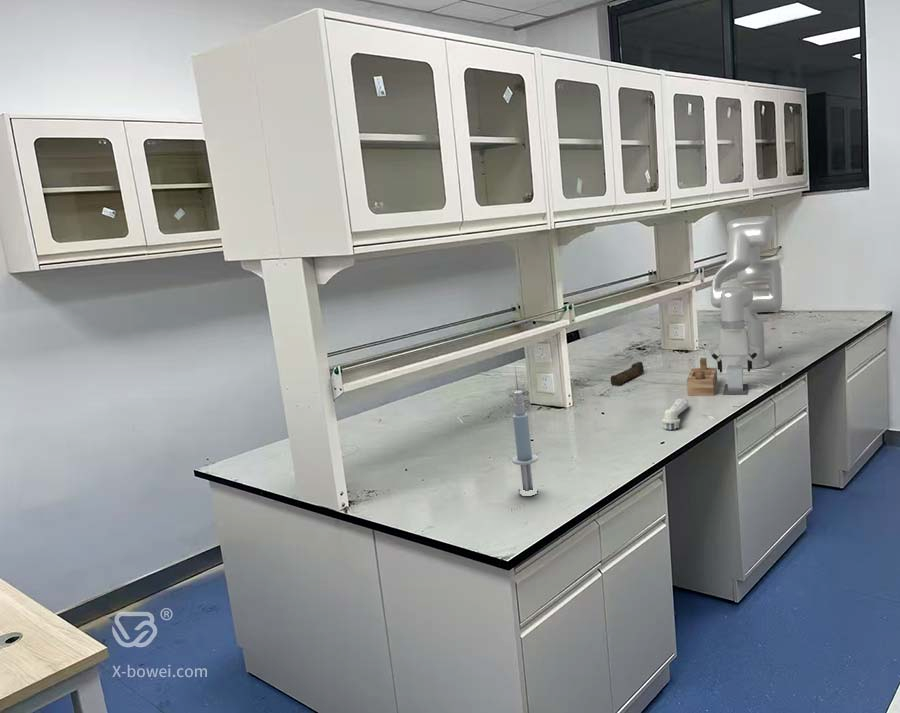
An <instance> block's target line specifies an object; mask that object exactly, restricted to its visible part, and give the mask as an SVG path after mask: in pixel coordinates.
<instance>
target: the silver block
mask: <svg viewBox="0 0 900 713" xmlns="http://www.w3.org/2000/svg"><path fill="white" fill-rule="evenodd" d="M726 377H727V378H726V379H727V380H726V381H727V384H728V391H743V386H744V385H743V384H744V368H743V365H736V364H728V365H727V369H726Z"/></svg>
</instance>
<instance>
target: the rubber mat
mask: <svg viewBox="0 0 900 713" xmlns="http://www.w3.org/2000/svg"><path fill="white" fill-rule="evenodd" d="M743 385H744V386H743V391H728V383H725V384H724V386H723V391H722V396H736V395H737V396H744V395H745V396H747V395H748V389H749V382H747V383H743Z"/></svg>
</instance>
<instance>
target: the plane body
mask: <svg viewBox="0 0 900 713" xmlns="http://www.w3.org/2000/svg"><path fill="white" fill-rule="evenodd" d="M699 366H700V367H692V368H691V369H690V371H689V374H688V375H687V376H688V377H687V378H686V392H687V396H688V397H694V396H695V397H702V396H703V397H710V396H711V397H714V396H715V392H716V389H717V386H718V367H708V363H707V357H700V359H699Z"/></svg>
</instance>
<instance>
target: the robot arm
mask: <svg viewBox="0 0 900 713" xmlns="http://www.w3.org/2000/svg"><path fill="white" fill-rule="evenodd" d="M726 231H727V234H728V241H727V251H726V262H725V263H724V264H723V265H722V266H721V267H720V268H719V269H718V270H717V272H715V274H714V276H713V279H712V281H711V290H710V302H711V305H712V306H713V307H714V308H716V309H720V317H721V328H719V331H718V332H719V333H718V344H716V345H714V346H712V347H711V348H709V349H708V353H709V354H710V356H711V358H712V359H714V360H715V361H716V362H717V363H716V364H717V371H718V370H719V373H722V372H723V360H722V359H723V358H724V357H739V360H738V361H736V362H735V365H743V369H747V372H748V373H749V372H751V370H753V369H761V368H767V367H768V366H770V362H769V361H768V360H765V359H766V358H765V356H766V355H765V334H764V333H765V332H764V331H765V330H764V329H765V328H764V321H763V319H762V318H761V317H760V315H759V314H758V313H766V312H777V311H780V310H781V309H782V305H783V285H782V284H783V283H782V282H783V280H782V279H783V277H782V268H781V265H780V263H779V261H777V260H775V259H766V260H762V259H761V250H760V249H761V248H760V247H765V246H768V245H769V244H770V243H771V241H772V238H773V237H774V235H775V232H776V221H775V219H774V218H773V217H772V216H770V215H760V216H752V217H751V216H749V217H741V218H740V217H739V218H734V219H731V220H730V221H728V222H727V224H726ZM736 274H737V281H738V283H739V284H740V285H744V286H726V287H722V285H723V283H724V282H725V281H726V280H727V279H728V278H730V277H732V276H734V275H736ZM754 285H755V286H758V285H759V286H760V285H761V286H762V285H767V286H768V287H751V288H750V287H748V286H754ZM717 350H718V353H719V355H717V354H716V353H715V351H717Z"/></svg>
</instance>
